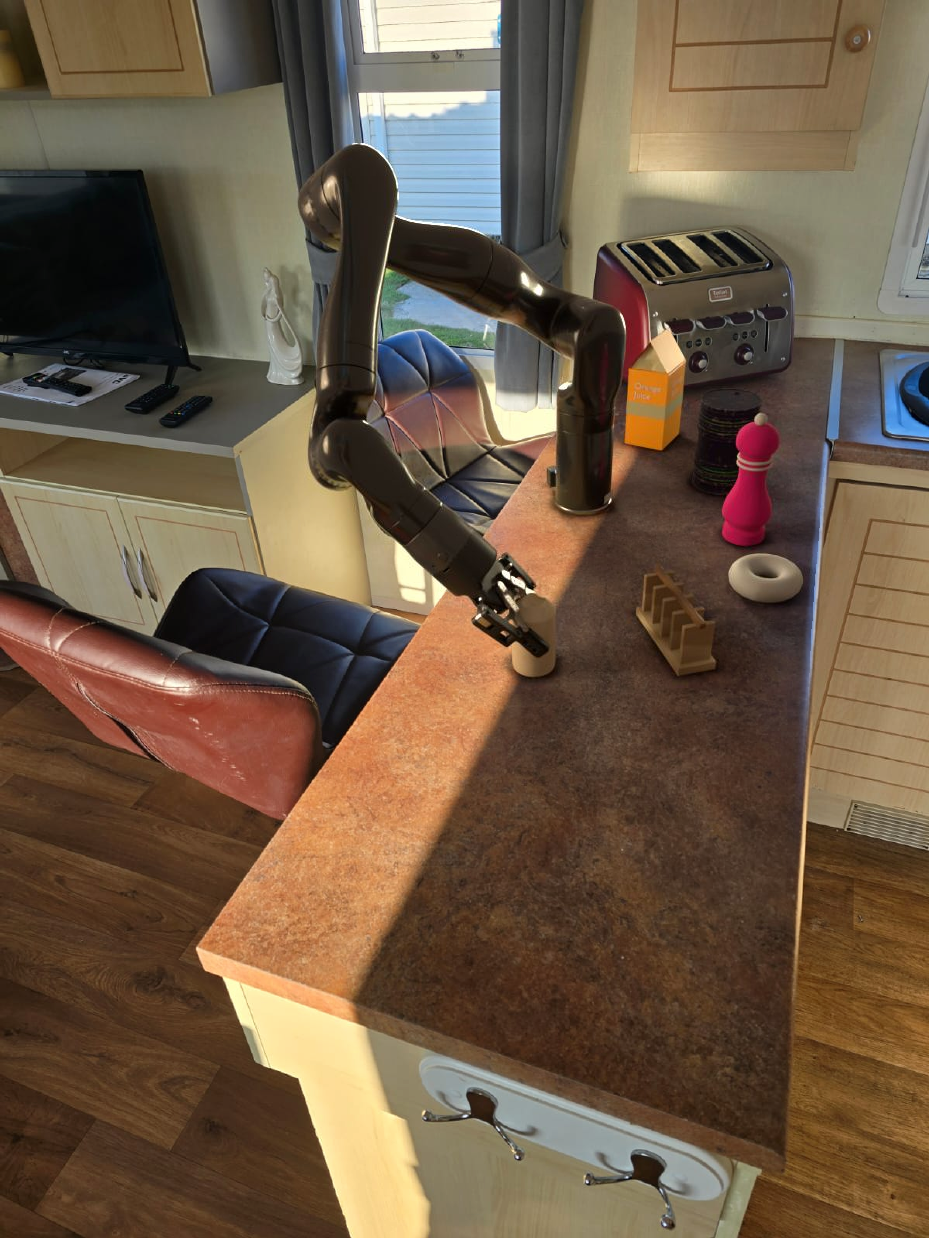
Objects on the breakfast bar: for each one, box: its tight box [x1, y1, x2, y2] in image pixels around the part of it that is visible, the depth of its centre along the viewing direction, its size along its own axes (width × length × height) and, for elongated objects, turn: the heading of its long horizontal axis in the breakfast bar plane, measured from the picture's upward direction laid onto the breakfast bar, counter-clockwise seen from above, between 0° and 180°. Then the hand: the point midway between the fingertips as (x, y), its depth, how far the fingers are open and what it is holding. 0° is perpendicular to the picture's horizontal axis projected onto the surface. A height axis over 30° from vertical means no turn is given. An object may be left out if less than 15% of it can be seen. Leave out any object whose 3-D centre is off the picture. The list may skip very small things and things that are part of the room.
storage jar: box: [691, 387, 763, 496], centre depth 143 cm, size 10×10×15 cm
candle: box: [510, 593, 557, 678], centre depth 106 cm, size 6×6×10 cm
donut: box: [727, 553, 804, 604], centre depth 120 cm, size 10×4×10 cm
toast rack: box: [635, 564, 717, 677], centre depth 110 cm, size 14×5×8 cm, turn 12°
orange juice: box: [624, 327, 687, 451], centre depth 158 cm, size 8×9×20 cm
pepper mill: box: [721, 412, 781, 547], centre depth 127 cm, size 7×7×20 cm
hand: (547, 637), depth 106 cm, fingers closed on candle, 5 cm apart
